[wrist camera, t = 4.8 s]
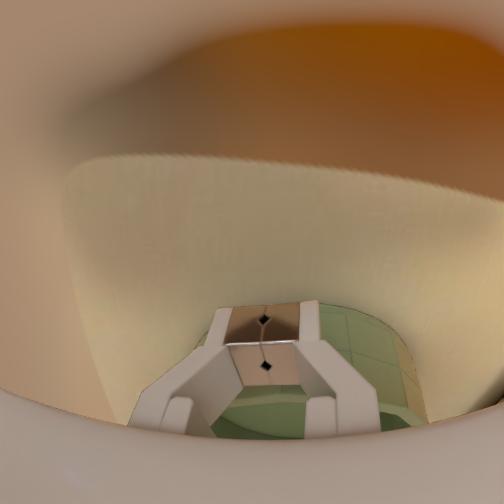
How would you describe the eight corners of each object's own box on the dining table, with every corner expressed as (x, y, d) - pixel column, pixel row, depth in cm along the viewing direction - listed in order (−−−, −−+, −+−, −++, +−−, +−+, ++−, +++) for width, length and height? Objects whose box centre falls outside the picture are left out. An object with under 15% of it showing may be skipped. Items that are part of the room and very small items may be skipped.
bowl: (170, 399, 20) (150, 459, 16) (236, 259, 13) (207, 347, 9) (330, 445, 21) (330, 499, 17) (453, 348, 15) (478, 420, 10)
